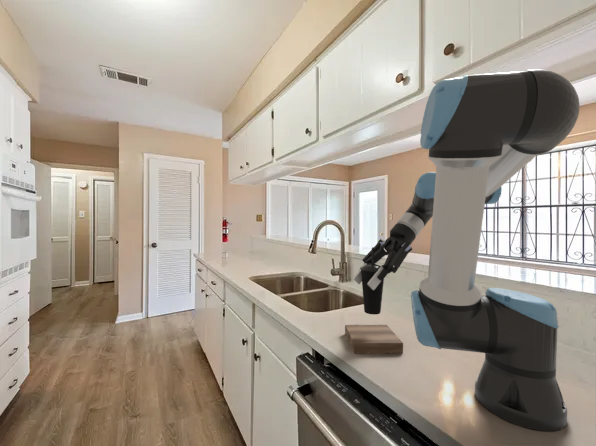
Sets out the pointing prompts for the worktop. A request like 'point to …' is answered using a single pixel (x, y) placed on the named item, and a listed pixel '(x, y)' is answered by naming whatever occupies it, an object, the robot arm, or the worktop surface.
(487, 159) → the robot arm
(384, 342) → the walnut riser
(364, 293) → the drinking cup
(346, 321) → the worktop surface
